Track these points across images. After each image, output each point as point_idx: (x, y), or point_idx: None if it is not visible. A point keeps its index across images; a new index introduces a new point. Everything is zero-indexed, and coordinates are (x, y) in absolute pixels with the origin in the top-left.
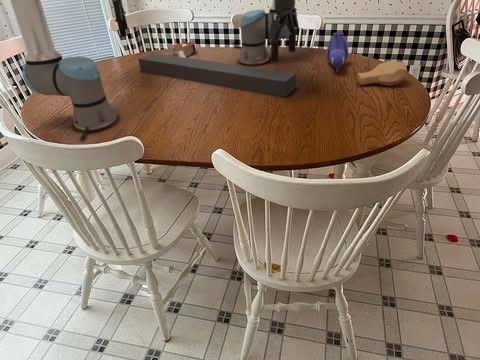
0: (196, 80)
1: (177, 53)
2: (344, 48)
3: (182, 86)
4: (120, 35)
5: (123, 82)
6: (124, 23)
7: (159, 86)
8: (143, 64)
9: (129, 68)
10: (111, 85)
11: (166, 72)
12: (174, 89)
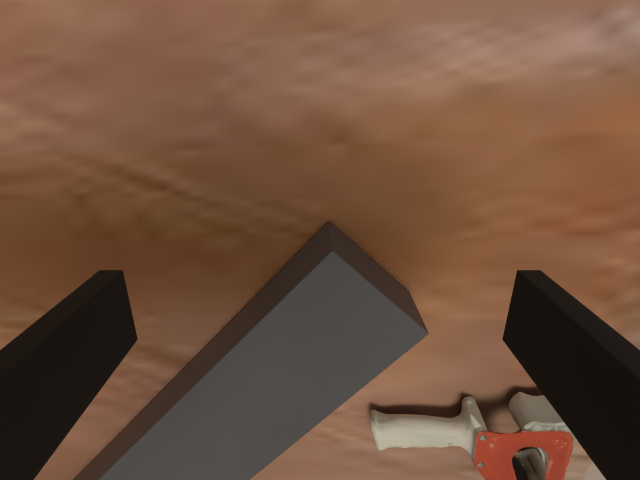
0: (108, 445)
1: (466, 421)
2: None
3: None
4: (86, 281)
5: (165, 121)
6: (551, 367)
7: None
8: (305, 262)
9: (421, 149)
10: (125, 43)
11: (202, 355)
12: None
